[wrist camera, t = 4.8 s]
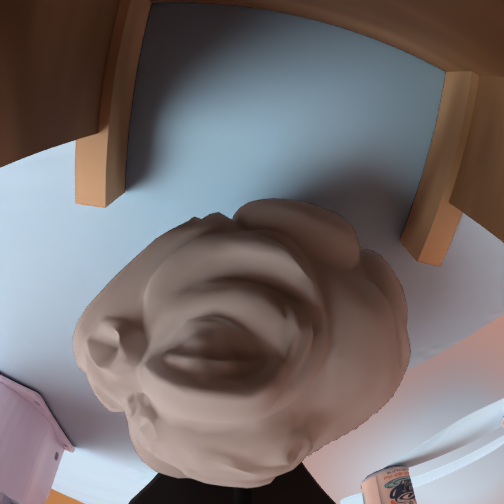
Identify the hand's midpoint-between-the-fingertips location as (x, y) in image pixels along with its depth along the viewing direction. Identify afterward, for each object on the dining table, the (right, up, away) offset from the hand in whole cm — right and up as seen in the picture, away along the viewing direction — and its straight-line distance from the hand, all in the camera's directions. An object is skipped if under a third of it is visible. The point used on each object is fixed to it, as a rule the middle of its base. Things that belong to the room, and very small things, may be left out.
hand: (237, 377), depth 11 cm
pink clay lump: (+1, +5, -1) cm, 5 cm away
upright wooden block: (+2, +9, -4) cm, 10 cm away
